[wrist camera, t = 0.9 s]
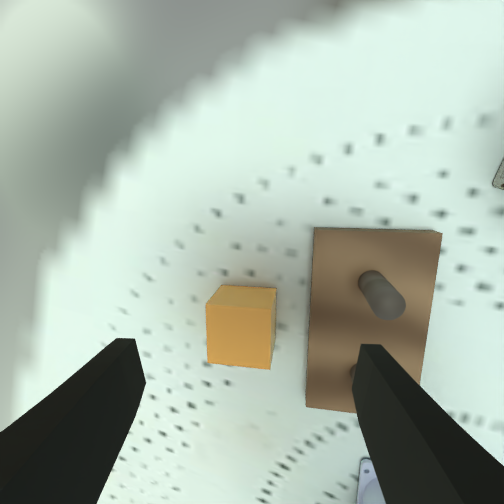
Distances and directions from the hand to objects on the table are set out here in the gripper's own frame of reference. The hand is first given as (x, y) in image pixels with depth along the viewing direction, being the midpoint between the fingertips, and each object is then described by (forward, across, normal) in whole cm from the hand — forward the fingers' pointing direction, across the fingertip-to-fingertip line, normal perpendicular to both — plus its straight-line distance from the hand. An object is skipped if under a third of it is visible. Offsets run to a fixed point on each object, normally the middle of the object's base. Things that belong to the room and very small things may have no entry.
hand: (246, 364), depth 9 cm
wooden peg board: (+13, -9, +9) cm, 18 cm away
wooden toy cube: (+14, +1, +9) cm, 17 cm away
